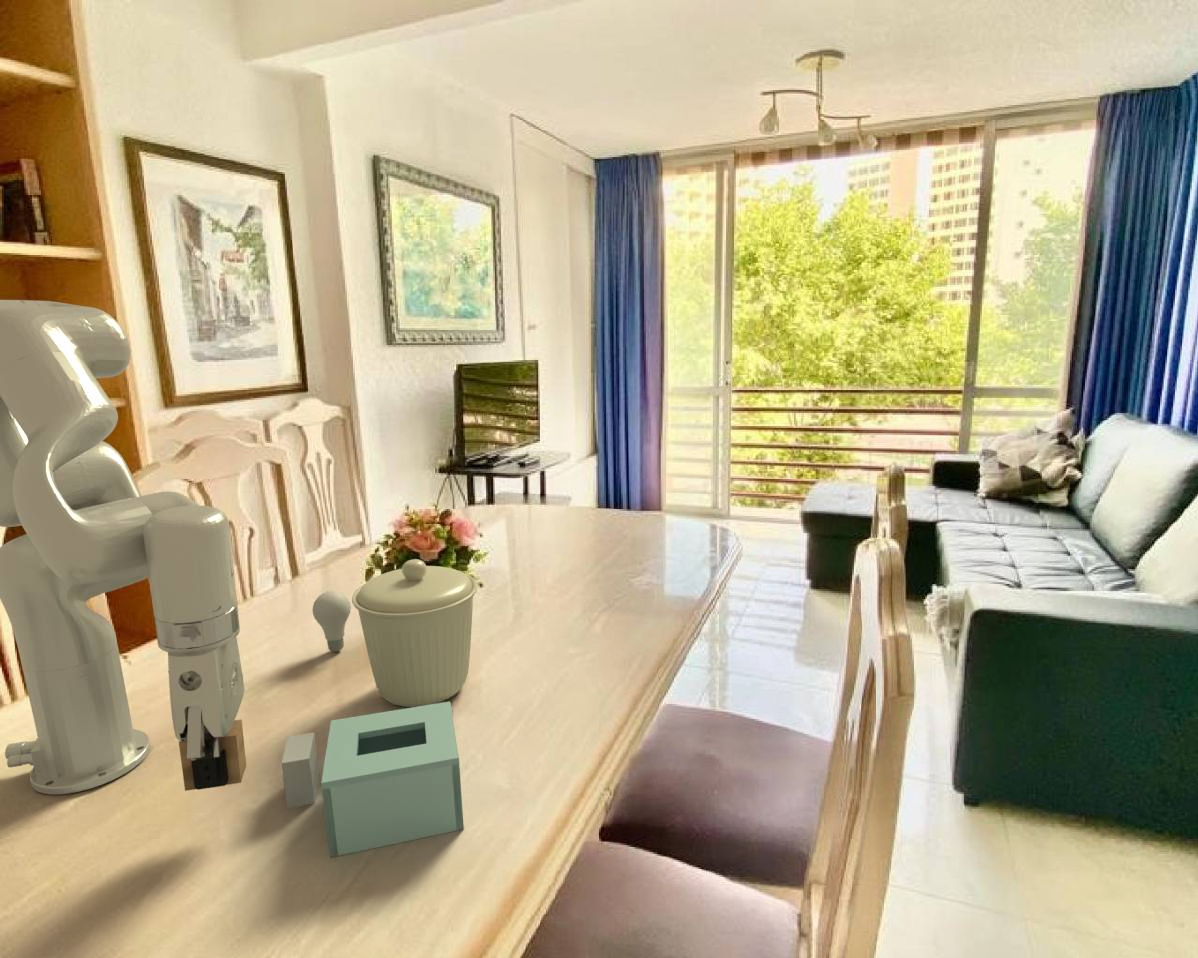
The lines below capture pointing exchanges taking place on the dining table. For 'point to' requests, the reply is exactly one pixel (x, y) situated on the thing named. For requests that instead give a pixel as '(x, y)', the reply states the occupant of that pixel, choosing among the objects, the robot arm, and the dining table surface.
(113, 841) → the dining table surface
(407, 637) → the canister
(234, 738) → the wooden block
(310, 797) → the gray rectangular block
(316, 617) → the lightbulb
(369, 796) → the coin box
